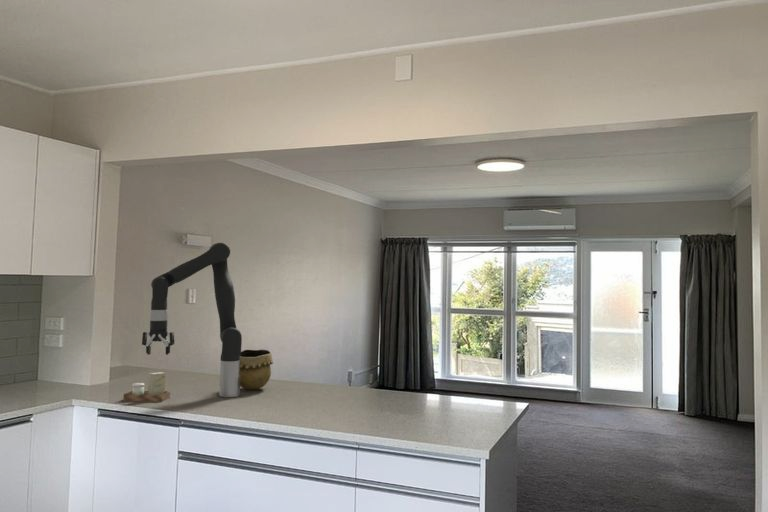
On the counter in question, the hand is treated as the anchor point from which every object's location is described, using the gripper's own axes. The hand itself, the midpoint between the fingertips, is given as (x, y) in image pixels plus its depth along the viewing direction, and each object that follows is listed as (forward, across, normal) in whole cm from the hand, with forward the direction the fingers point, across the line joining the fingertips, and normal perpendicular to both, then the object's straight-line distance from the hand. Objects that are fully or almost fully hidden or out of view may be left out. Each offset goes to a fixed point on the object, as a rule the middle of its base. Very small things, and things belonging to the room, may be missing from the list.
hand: (157, 354), depth 267 cm
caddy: (+21, +4, 0) cm, 22 cm away
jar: (+21, +9, 0) cm, 22 cm away
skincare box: (+21, 0, 0) cm, 21 cm away
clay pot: (+22, -36, -33) cm, 54 cm away
